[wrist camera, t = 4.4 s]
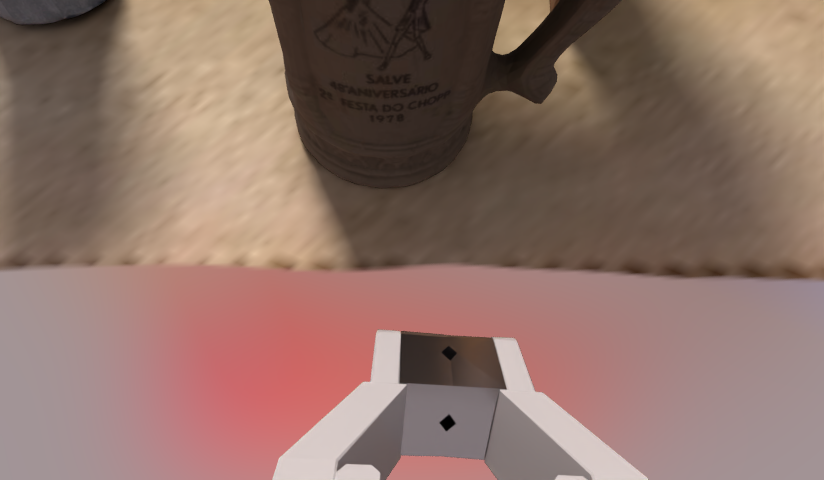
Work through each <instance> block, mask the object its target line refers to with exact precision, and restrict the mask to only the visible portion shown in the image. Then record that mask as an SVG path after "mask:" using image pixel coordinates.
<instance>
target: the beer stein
mask: <svg viewBox="0 0 824 480" xmlns="http://www.w3.org/2000/svg"><path fill="white" fill-rule="evenodd" d="M620 1H621V0H560V1H559V3H558V4H557V5H556V6H555V8H554V9H553V10H552V11H551V12H550V14H549V15H548V16H547V17H546V18H545V20H544V21H543V22H542V23H541V24H540V25H539V26H538V28H537V29H536V30H535V31H534V32H533V33H532V34H531V35H530V36H529V37H528V38H527V39H526V40H525V41H524V42H523V43H522V44H521V45H520V46H519V47H518V48H517V49H516V50H514V51H512V52H510V53H509V54H505V55H500V54H496V53H494V52H493V51H492V48H493V44H494V40H495V36H496V32H497V29H498V25H499V22H500V18H501V14H502V11H503V7H504V3H505V0H269V3H270V6H271V10H272V13H273V17H274V21H275V25H276V29H277V33H278V37H279V40H280V44H281V48H282V52H283V58H284V65H285V77H286V84H287V90H288V95H289V98H290V100H291V103H292V105H293V107H294V111H295V119H296V123H297V128H298V132H299V135H300V137H301V139H302V141H303V143H304V145H305V146H306V148H307V149H308V151H309V152H310V153H311V154H312V155H313V156H314V157H315V158H316V159H317V160H318V162H319V163H320V164H321V165H322V166H323V167H324V168H326V169H327V170H329V171H331V172H332V173H334V174H335V175H337V176H339V177H340V178H342V179H345V180H348V181H350V182H353V183H356V184H361V185H366V186H372V187H378V188H388V187H400V186H408V185H411V184H415V183H418V182H421V181H423V180H425V179H427V178H429V177H431V176H433V175H435V174H437V173H439V172H440V171H442V170H443V169H444V168H445V167H446V166H447V165H448V164H450V163H451V162H452V161H453V160H454V159H455V157H456V156H457V154H458V153H459V151H460V150H461V148H462V146H463V145H464V143H465V142H466V139H467V136H468V134H469V130H470V125H471V120H472V111H473V109H474V108H475V106H476V105H477V104H478V103H479V102H480V101H481V100H482V99H483V97H485V96H486V95H487V94H489V93H492V92H495V91H506V90H507V91H512V92H514V93H516V94H518V95H520V96H522V97H524V98H526V99H528V100H530V101H532V102H534V103H538V104H541V103H542V102H543V101H544V100H545V98H546V97H547V96H548V95H549V94H550V93H551V91H552V89H553V87H554V86H555V84H556V82H557V73H556V71H555V69H554V63H555V62H556V60H557V59H558V57H559V56H560V55H561V54H562V53H563V52H564V51H565V50H566V49H567V48H568V47H569V46H570V45H571V44H572V43H573V42H575V41H576V40H577V39H578V38H579V37H581V36H582V35H583V34H584V33H585V32H587V31H588V30H589V29H590V28H591V27H593V26H594V25H595V24H596V23H597V22H598V21H600V20H601V19H602V18H603V17H604V16H605V15H606V14H608V13H609V12H610V11H611V10H612V9H613V8H615V7H616V6H617V5H618V4H619V3H620Z"/></svg>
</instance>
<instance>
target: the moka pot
mask: <svg viewBox="0 0 824 480" xmlns="http://www.w3.org/2000/svg"><path fill="white" fill-rule="evenodd" d="M105 1H106V0H0V17H2V18H4V19H6V20H9V21H12V22H13V23H15V24H20V25H23V24H27V25H33V24H46V23H53V22H57V21H60V20H63V19H68V18H72V17H76V16H79V15H81V14H84V13H86V12H88V11H90V10H91V9H93V8H95V7H96V6H98V5H100V4H101V3H103V2H105Z"/></svg>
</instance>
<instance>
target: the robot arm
mask: <svg viewBox="0 0 824 480" xmlns="http://www.w3.org/2000/svg"><path fill="white" fill-rule="evenodd" d="M401 455H409V456H412V455H413V456H445V457H457V458H469V459H481V460H485V463H486V465H487V466H488V467H489V469H490V470H491V471H492V473H493V474H494V475H495V477H496V478H497V479H498V480H649V479H648V478H647V477H646V476H645V475H643V474H642V473H641V472H640V471H638V470H637V469H636V468H635V467H633V466H632V465H631V464H630V463H628V462H627V461H626V460H625V459H624V458H622V457H621V456H620V455H619V454H617V453H616V452H615V451H614V450H613V449H611V448H610V447H609V446H608V445H607V444H605V443H604V442H603V441H601V440H600V439H599V438H598V437H597V436H596V435H594V434H593V433H592V432H591V431H589V430H588V429H587V428H586V427H585V426H583V425H582V424H581V423H580V422H578V421H577V420H576V419H575V418H574V417H572V416H571V415H570V414H569V413H567V412H566V411H565V410H564V409H562V408H561V407H560V406H559V405H557V404H556V403H555V402H554V401H553V400H551V399H550V398H549V397H548V396H547V395H545V394H544V393H543V392H535V389H534V386H533V383H532V381H531V378H530V375H529V372H528V370H527V367H526V364H525V362H524V359H523V356H522V353H521V350H520V348H519V345H518V342H517V340H516V339H515V338H504V337H491V338H486V337H467V336H451V335H442V334H431V333H418V332H407V331H401V333H400V331H394V330H379V329H378V330H377V332H376V339H375V347H374V356H373V364H372V372H371V381H370V382H362V383H361V384H360V385H359V386H358V387H357V388H356V389H355V390H354V391H352V392H351V393H350V394H349V395H348V396H347V397H346V398H345V399H344V400H342V401H341V402H340V403H339V404H338V405H337V406H336V407H335V408H334V409H333V410H331V411H330V412H329V413H328V414H327V415H326V416H325V417H324V418H323V419H322V420H320V421H319V422H318V423H317V424H316V425H315V426H314V427H313V428H312V429H311V430H310V431H308V432H307V433H306V434H305V435H304V436H303V437H302V438H301V439H300V440H298V441H297V442H296V443H295V444H294V445H293V446H292V447H291V448H290V449H289V450H287V451H286V452H285V453H284V454H283V455H282V456H281V457H280V458H279V460H278V464H277V467H276V470H275V473H274V476H273V479H272V480H386V479H387V477H388V476H389V474H390V473H391V471H392V469H393V468H394V467H395V465H396V464H397V462H398V461H399V459H400V457H401Z"/></svg>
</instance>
